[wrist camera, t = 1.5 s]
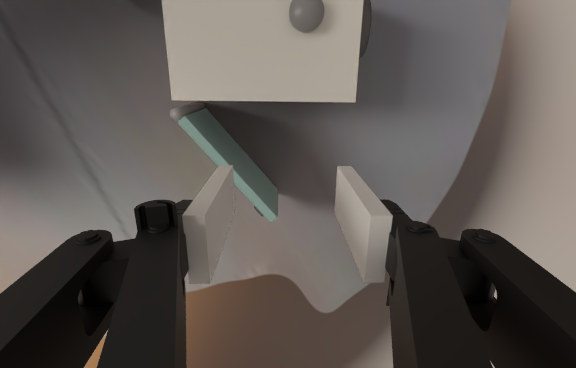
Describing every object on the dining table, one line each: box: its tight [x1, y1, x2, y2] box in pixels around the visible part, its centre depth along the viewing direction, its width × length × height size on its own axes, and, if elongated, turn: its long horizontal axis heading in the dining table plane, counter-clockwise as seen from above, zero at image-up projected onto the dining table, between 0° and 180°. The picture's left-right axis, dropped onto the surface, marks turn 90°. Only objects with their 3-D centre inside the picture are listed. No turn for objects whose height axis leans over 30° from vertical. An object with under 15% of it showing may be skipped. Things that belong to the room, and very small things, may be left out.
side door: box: [170, 102, 278, 223], centre depth 29 cm, size 12×2×8 cm, turn 39°
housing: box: [162, 0, 371, 103], centre depth 26 cm, size 15×9×9 cm, turn 89°
